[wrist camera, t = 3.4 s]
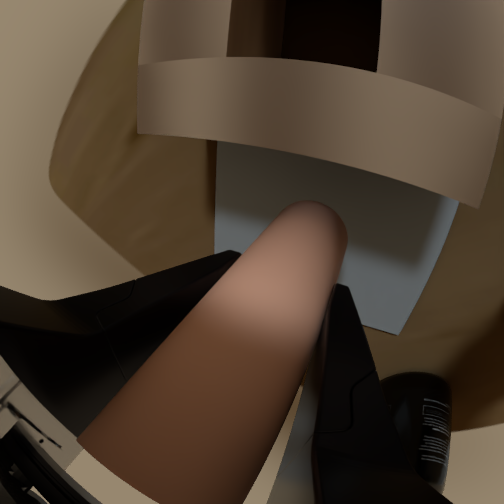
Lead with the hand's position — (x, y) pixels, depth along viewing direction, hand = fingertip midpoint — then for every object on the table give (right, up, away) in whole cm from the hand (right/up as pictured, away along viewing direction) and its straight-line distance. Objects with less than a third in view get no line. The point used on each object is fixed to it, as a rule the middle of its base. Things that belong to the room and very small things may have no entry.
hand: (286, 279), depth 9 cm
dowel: (+1, +1, +2) cm, 3 cm away
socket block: (+2, +10, 0) cm, 11 cm away
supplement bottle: (+11, -10, +8) cm, 17 cm away
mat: (+2, +2, +6) cm, 6 cm away
